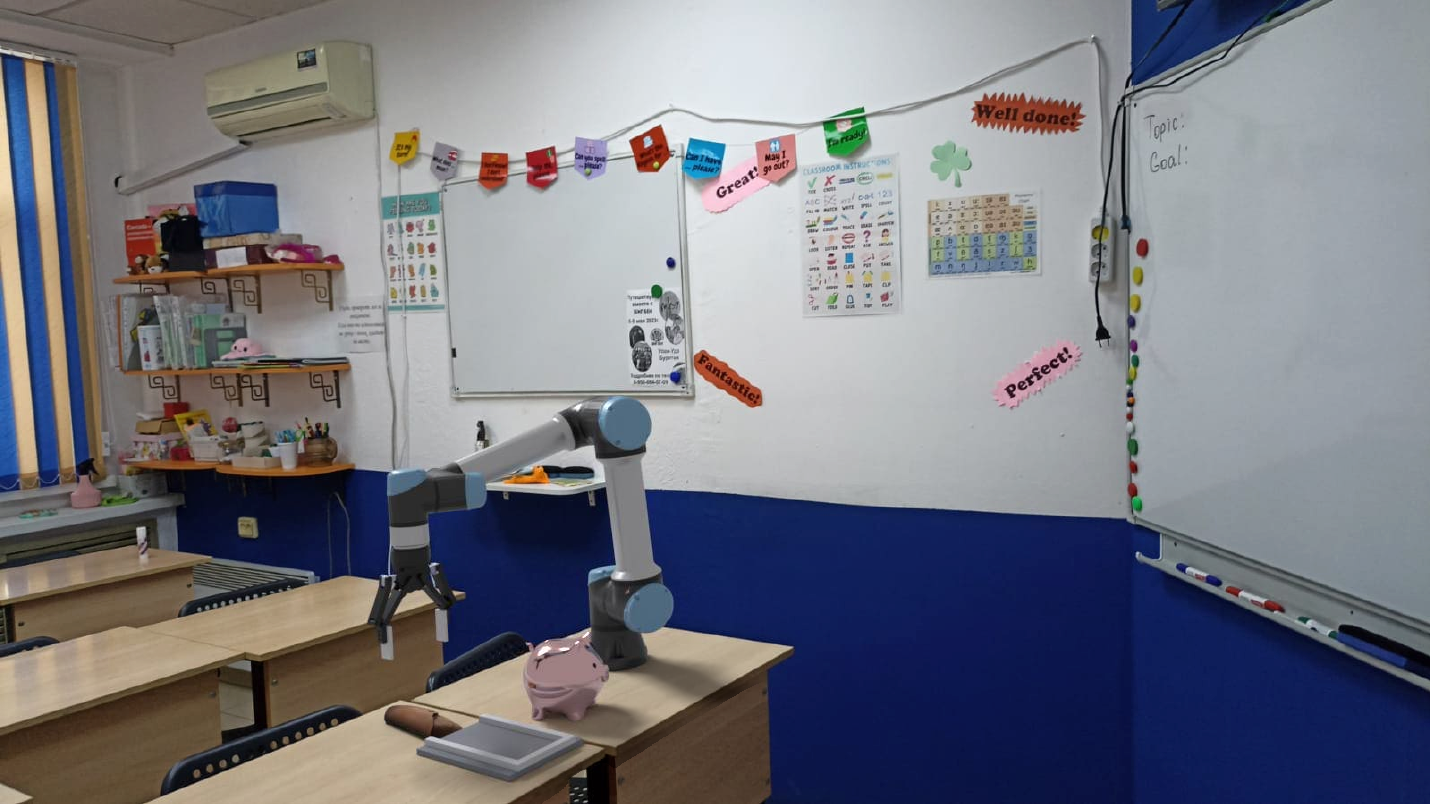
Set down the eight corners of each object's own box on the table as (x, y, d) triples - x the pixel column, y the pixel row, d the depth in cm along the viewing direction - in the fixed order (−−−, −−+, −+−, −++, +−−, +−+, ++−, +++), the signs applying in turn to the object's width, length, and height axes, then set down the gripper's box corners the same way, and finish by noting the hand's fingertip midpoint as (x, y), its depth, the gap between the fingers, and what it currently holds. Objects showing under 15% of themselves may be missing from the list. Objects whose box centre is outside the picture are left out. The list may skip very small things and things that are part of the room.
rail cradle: (492, 720, 201) (491, 710, 201) (583, 743, 187) (582, 732, 187) (416, 754, 185) (415, 742, 185) (509, 781, 171) (509, 769, 171)
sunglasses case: (468, 728, 197) (452, 705, 194) (443, 756, 192) (426, 733, 190) (419, 710, 209) (403, 688, 206) (394, 736, 204) (378, 714, 202)
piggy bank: (597, 726, 195) (593, 647, 194) (513, 723, 199) (508, 646, 198) (620, 699, 210) (616, 626, 209) (541, 697, 214) (537, 625, 213)
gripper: (446, 533, 210) (451, 631, 211) (344, 555, 189) (350, 664, 190) (470, 536, 205) (475, 636, 206) (368, 558, 185) (375, 669, 186)
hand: (415, 649), depth 198 cm, fingers open, 13 cm apart
